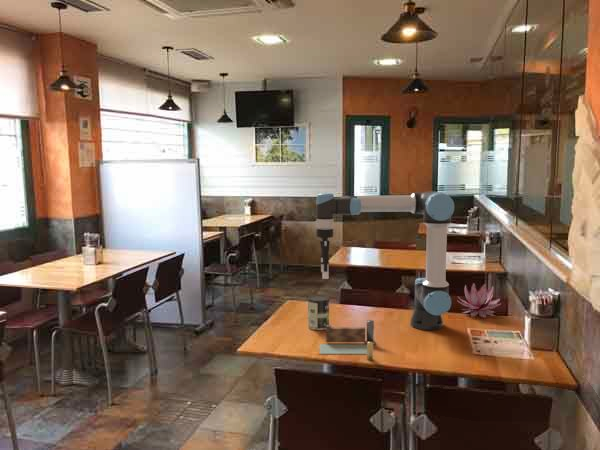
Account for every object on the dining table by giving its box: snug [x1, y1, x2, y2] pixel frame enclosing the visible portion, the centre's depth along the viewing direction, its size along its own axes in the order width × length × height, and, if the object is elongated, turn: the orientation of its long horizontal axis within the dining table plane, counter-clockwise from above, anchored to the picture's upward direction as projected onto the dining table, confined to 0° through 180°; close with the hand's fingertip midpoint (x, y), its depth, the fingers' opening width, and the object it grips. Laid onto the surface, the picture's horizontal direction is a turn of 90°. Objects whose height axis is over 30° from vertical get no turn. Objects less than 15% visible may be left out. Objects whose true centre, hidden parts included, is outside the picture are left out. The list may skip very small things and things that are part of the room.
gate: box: [325, 324, 366, 343], centre depth 205 cm, size 17×2×7 cm, turn 88°
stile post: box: [366, 341, 374, 362], centre depth 188 cm, size 2×2×7 cm
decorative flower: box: [456, 282, 501, 319], centre depth 242 cm, size 21×21×15 cm
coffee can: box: [307, 294, 330, 331], centre depth 227 cm, size 10×10×14 cm
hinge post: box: [363, 319, 377, 346], centre depth 204 cm, size 5×5×10 cm
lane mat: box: [318, 343, 367, 355], centre depth 198 cm, size 20×10×1 cm, turn 88°
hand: (324, 275), depth 213 cm, fingers open, 13 cm apart
